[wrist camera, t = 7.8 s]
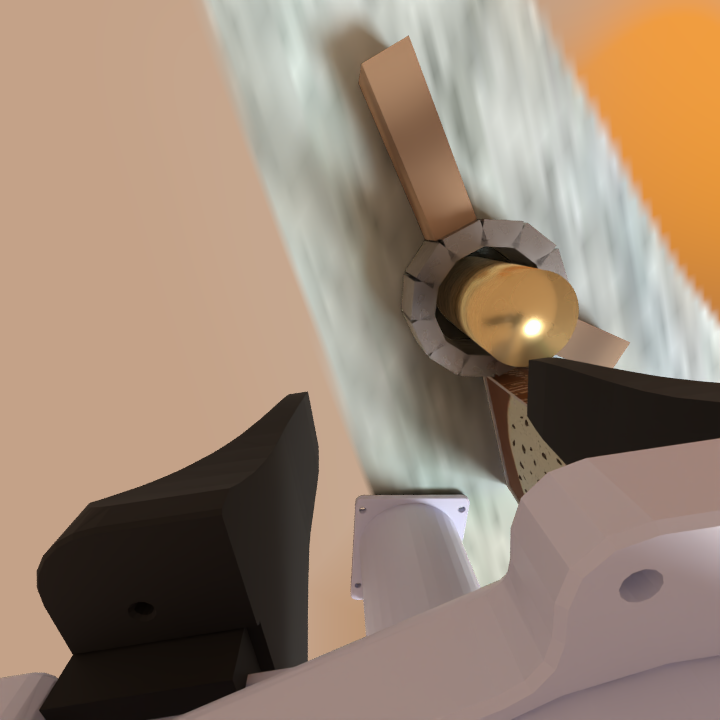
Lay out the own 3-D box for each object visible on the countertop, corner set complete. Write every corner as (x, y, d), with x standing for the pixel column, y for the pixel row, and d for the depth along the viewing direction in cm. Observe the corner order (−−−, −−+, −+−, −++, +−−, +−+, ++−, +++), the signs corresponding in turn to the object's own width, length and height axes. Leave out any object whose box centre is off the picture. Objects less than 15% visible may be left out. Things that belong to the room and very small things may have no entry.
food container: (592, 476, 27) (735, 612, 17) (509, 501, 27) (605, 648, 17) (574, 317, 22) (749, 381, 13) (476, 348, 23) (578, 433, 13)
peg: (510, 259, 21) (591, 274, 14) (495, 328, 22) (563, 369, 16) (441, 253, 21) (492, 265, 14) (430, 323, 22) (472, 364, 15)
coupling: (594, 363, 23) (630, 382, 21) (347, 357, 22) (349, 376, 19) (672, 82, 18) (732, 56, 16) (359, 54, 17) (364, 20, 14)
